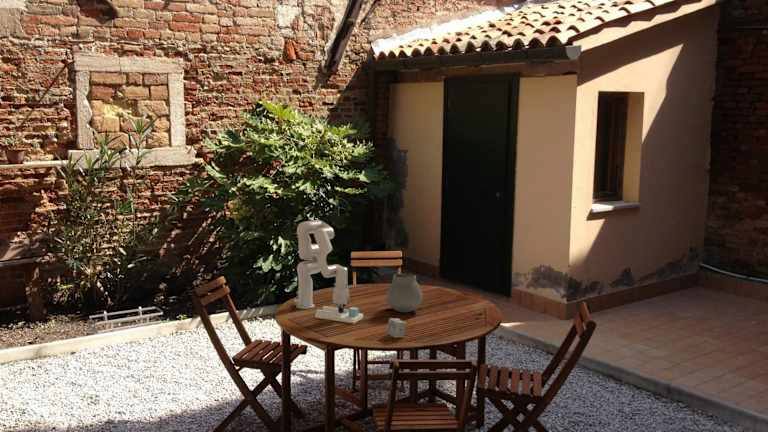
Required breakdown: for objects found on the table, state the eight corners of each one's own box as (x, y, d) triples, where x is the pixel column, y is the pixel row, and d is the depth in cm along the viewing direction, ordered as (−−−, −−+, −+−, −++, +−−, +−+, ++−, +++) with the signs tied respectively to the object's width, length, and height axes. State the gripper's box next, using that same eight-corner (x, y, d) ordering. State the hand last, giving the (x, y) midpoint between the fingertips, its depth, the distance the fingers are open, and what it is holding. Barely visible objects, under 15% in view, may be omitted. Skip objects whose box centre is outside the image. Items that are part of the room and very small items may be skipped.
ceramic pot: (427, 308, 486) (428, 273, 482) (413, 318, 464) (414, 281, 460) (394, 304, 496) (395, 269, 492) (380, 312, 474) (380, 276, 470)
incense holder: (406, 337, 424) (407, 321, 423) (394, 339, 420) (395, 322, 419) (398, 333, 433) (398, 316, 431) (386, 334, 429) (386, 318, 427)
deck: (315, 317, 461) (315, 310, 460) (325, 311, 473) (325, 305, 473) (353, 323, 450) (353, 316, 449) (363, 317, 462) (363, 310, 462)
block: (348, 316, 456) (348, 308, 455) (351, 314, 460) (351, 306, 460) (355, 317, 454) (355, 309, 453) (358, 315, 459) (358, 307, 458)
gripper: (328, 285, 457) (328, 313, 460) (349, 288, 451) (348, 316, 454) (333, 283, 464) (333, 310, 467) (354, 286, 458) (353, 313, 461)
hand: (340, 313), depth 461 cm, fingers closed
